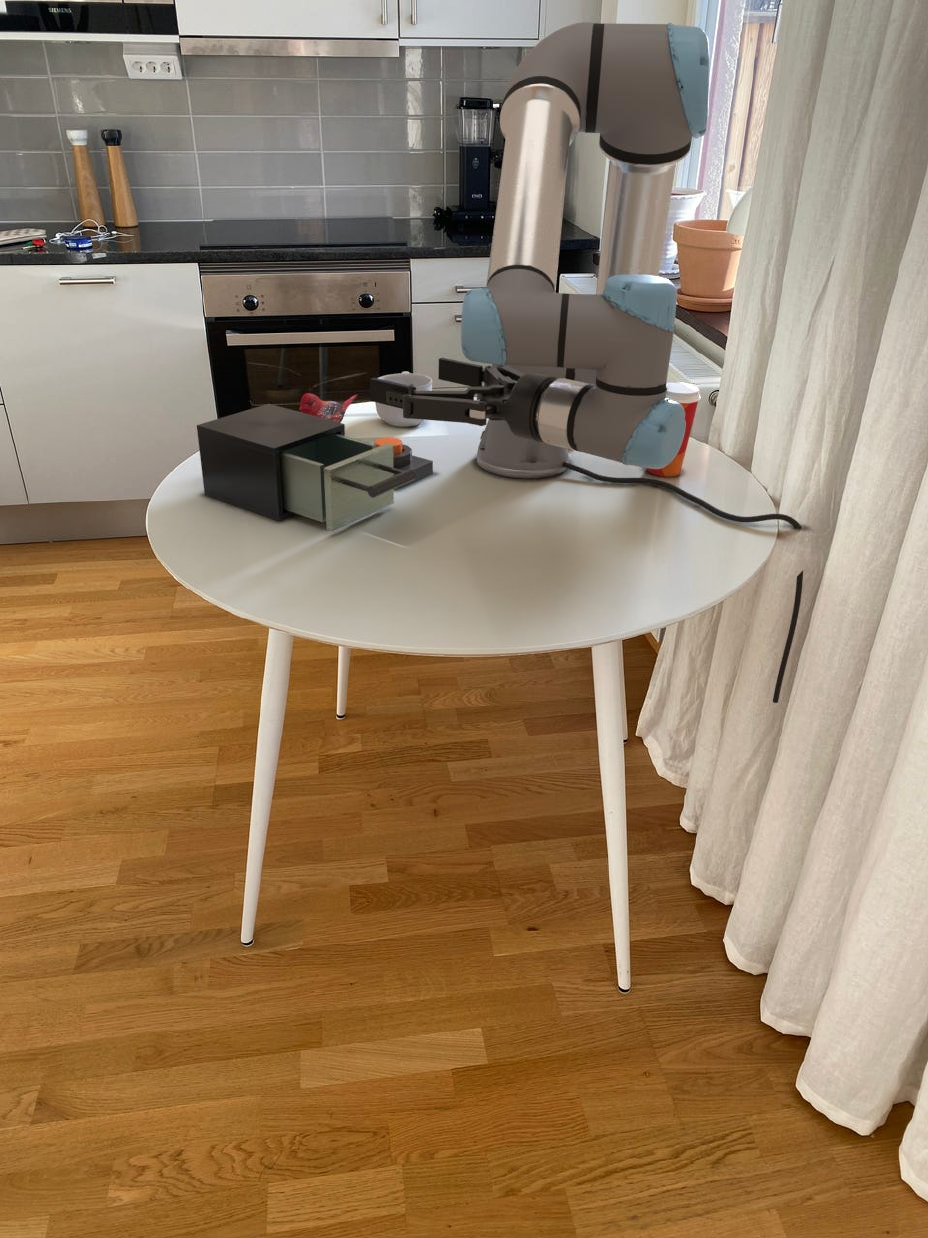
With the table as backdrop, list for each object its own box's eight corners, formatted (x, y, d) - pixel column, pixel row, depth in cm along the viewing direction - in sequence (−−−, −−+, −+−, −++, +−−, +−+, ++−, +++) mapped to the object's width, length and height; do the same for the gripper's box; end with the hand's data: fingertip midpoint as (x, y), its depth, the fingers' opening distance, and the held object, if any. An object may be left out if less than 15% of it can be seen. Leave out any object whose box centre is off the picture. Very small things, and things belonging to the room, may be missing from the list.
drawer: (426, 513, 134) (426, 454, 130) (366, 543, 125) (364, 480, 120) (320, 480, 144) (318, 424, 140) (257, 505, 135) (252, 446, 131)
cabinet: (347, 492, 143) (344, 423, 138) (279, 521, 133) (273, 448, 127) (273, 469, 151) (268, 403, 145) (204, 495, 140) (196, 424, 135)
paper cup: (634, 461, 158) (647, 379, 151) (679, 462, 159) (694, 380, 151) (646, 478, 151) (660, 393, 144) (692, 479, 152) (709, 395, 145)
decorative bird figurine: (295, 454, 157) (291, 395, 152) (351, 426, 171) (349, 371, 166) (309, 457, 156) (306, 398, 151) (365, 428, 170) (363, 373, 165)
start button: (408, 451, 149) (407, 441, 148) (390, 458, 146) (390, 448, 145) (386, 445, 151) (386, 435, 150) (368, 452, 148) (368, 442, 147)
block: (432, 473, 151) (433, 449, 149) (397, 489, 144) (397, 464, 142) (380, 458, 156) (380, 435, 154) (344, 473, 150) (343, 449, 148)
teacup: (424, 433, 169) (424, 389, 165) (366, 428, 170) (365, 384, 167) (441, 411, 181) (442, 370, 177) (387, 406, 182) (386, 365, 179)
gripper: (487, 470, 100) (341, 430, 111) (600, 418, 118) (464, 387, 129) (490, 401, 97) (339, 366, 108) (606, 358, 115) (466, 332, 125)
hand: (407, 378), depth 118 cm, fingers open, 13 cm apart
